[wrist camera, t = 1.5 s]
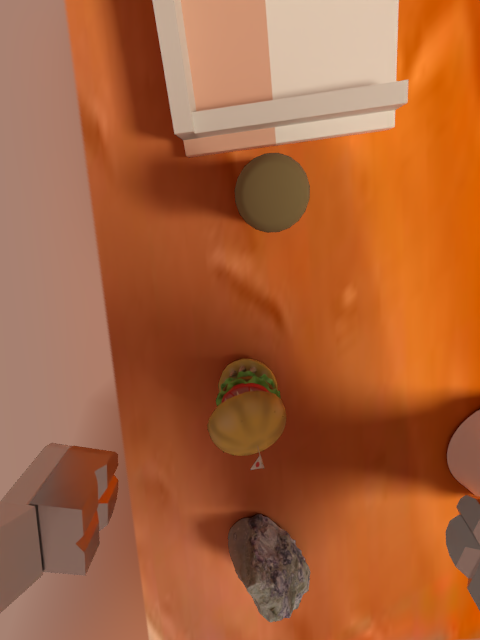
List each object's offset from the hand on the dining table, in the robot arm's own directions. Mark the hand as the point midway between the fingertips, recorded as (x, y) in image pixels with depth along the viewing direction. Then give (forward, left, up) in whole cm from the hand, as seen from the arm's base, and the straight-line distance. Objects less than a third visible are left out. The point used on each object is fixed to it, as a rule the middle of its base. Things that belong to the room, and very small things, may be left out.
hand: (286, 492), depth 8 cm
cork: (-1, -6, -29) cm, 30 cm away
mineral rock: (+3, +41, -29) cm, 50 cm away
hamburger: (+3, +14, -29) cm, 32 cm away
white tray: (-3, -17, -29) cm, 34 cm away
